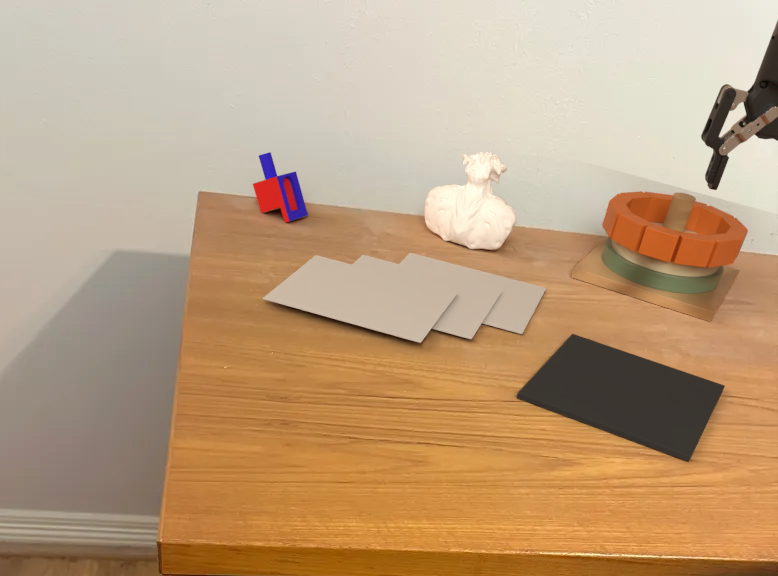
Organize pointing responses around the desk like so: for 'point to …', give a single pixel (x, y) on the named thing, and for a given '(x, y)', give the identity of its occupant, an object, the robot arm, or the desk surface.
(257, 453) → the desk surface
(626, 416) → the mat
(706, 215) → the orange ring
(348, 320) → the paper stack
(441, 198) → the bust
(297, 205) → the toy building block
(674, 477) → the desk surface
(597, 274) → the ring stack
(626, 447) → the desk surface
